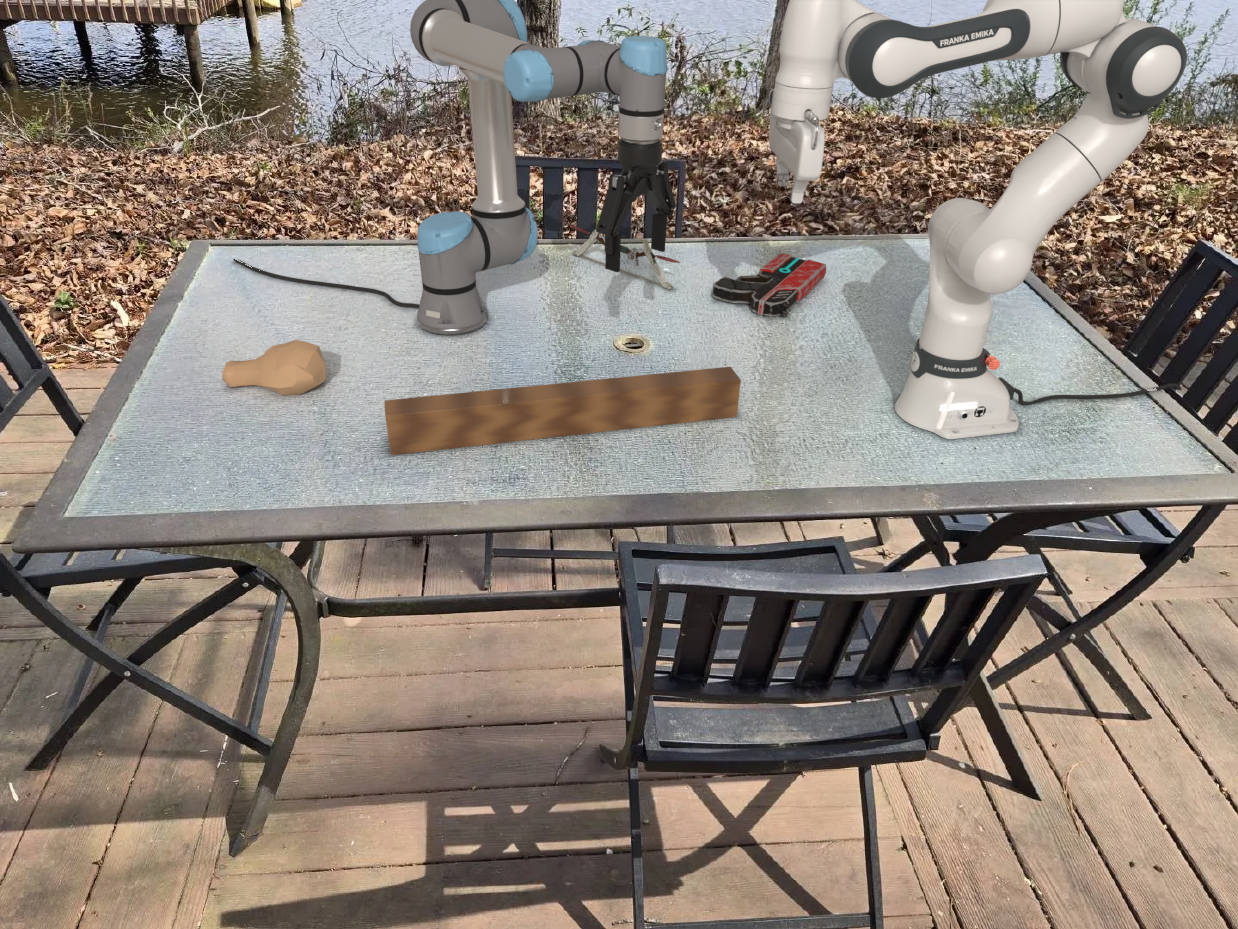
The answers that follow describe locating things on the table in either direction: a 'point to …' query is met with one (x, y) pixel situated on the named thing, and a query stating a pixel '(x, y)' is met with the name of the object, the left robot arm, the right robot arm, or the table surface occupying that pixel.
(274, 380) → the squash
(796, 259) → the gun
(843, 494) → the table surface
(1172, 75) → the right robot arm
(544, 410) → the post
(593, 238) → the bow
